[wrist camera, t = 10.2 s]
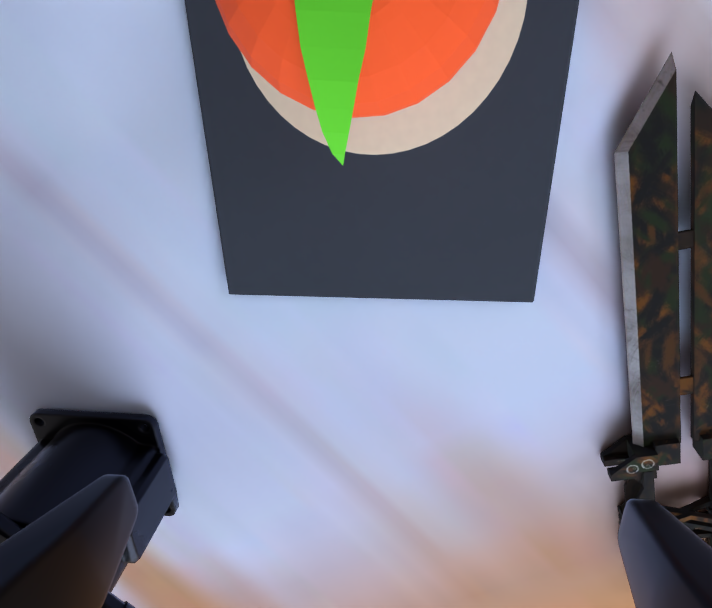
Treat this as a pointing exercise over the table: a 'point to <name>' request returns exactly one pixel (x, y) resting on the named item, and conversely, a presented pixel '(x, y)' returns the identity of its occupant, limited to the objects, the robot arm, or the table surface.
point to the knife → (664, 295)
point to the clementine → (356, 52)
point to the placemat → (390, 171)
